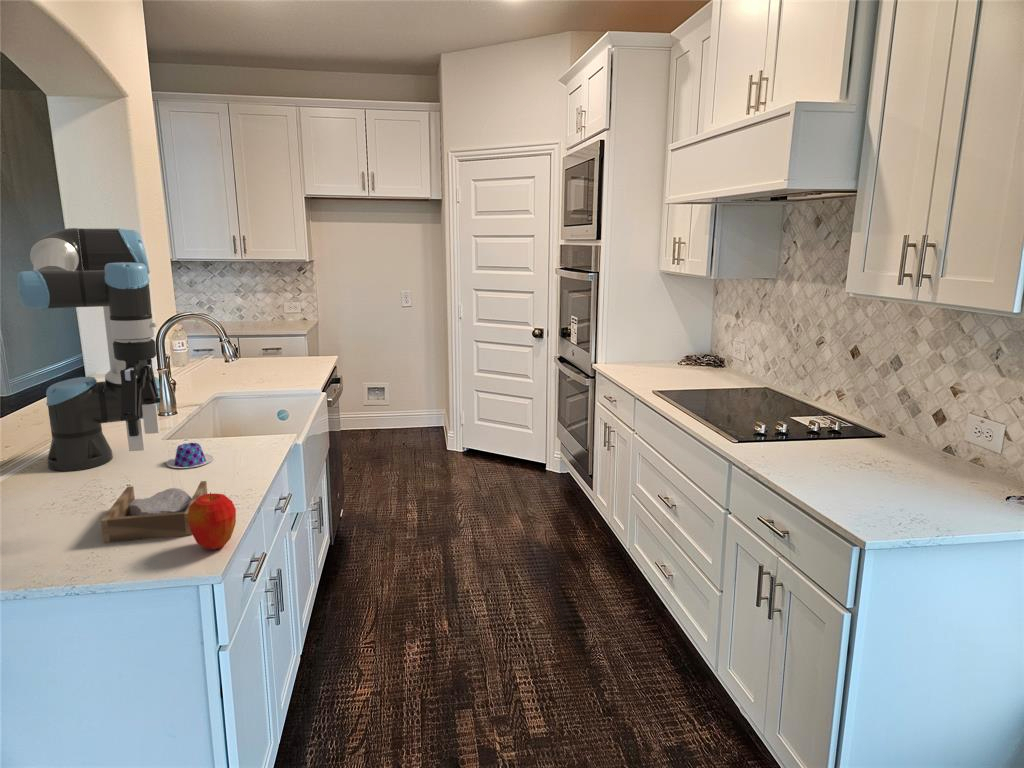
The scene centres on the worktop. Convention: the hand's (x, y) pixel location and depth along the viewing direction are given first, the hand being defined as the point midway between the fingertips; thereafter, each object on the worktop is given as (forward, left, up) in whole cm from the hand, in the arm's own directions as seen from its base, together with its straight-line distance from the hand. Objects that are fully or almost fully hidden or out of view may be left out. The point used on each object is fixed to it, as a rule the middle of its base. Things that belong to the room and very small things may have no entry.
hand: (145, 441), depth 138 cm
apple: (+11, +14, -20) cm, 27 cm away
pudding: (-45, -1, -21) cm, 49 cm away
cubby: (-5, 0, -20) cm, 21 cm away
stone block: (-9, 0, -21) cm, 23 cm away
